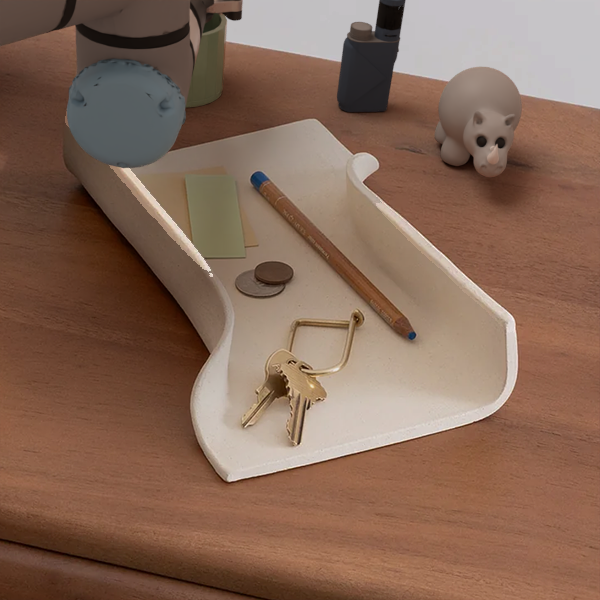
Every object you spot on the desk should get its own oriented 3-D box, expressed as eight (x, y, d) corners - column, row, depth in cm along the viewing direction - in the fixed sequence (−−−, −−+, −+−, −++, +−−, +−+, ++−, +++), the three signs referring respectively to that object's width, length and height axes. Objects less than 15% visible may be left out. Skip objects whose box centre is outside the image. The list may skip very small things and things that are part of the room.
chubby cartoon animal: (438, 203, 90) (456, 111, 84) (426, 134, 99) (442, 49, 94) (522, 210, 90) (546, 120, 85) (502, 141, 100) (523, 56, 94)
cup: (113, 83, 101) (112, 13, 97) (178, 59, 107) (180, -8, 103) (176, 116, 97) (178, 44, 93) (241, 90, 103) (245, 21, 99)
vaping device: (392, 112, 102) (412, -9, 95) (339, 113, 101) (355, -10, 94) (385, 100, 104) (404, -20, 97) (333, 100, 103) (348, -21, 96)
